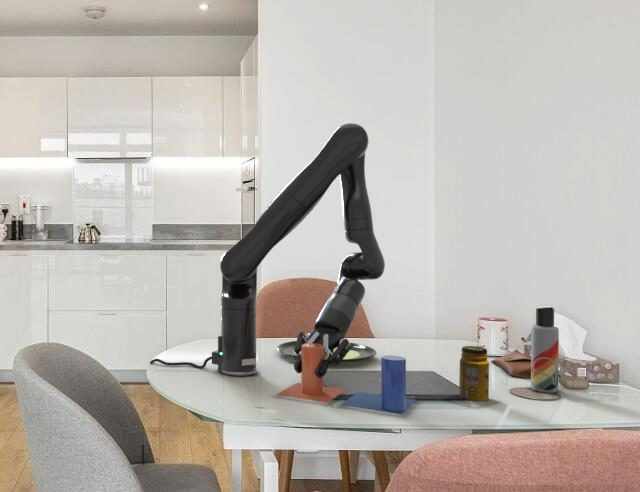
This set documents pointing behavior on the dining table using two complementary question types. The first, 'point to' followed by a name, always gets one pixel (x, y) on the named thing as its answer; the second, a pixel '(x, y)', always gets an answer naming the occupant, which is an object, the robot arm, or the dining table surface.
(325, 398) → the terracotta mat
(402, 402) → the blue canister
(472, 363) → the condiment
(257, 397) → the dining table surface
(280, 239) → the robot arm
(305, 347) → the terracotta canister
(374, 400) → the blue mat
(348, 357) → the plate
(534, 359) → the lotion bottle
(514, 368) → the sunglasses case
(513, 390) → the dining table surface
